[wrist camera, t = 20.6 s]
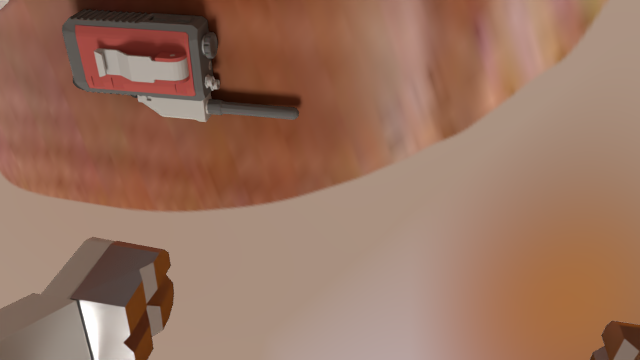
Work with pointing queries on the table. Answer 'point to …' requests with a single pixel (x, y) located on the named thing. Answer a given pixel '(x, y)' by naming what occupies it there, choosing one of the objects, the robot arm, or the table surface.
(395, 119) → the table surface
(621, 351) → the robot arm
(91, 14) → the walkie-talkie
